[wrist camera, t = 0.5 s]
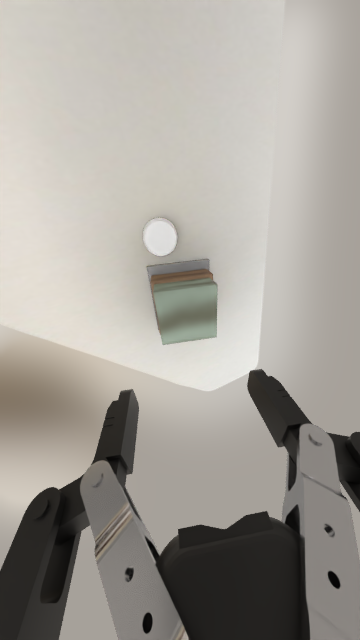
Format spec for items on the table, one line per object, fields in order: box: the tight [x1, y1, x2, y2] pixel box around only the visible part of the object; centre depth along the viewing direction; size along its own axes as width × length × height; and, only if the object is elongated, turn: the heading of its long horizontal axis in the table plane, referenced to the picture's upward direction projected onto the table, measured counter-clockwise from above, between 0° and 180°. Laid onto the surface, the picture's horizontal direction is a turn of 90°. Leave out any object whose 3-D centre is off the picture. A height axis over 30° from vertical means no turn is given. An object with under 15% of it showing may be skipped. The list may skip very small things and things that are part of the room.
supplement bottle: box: [143, 217, 178, 256], centre depth 24 cm, size 5×5×8 cm
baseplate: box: [147, 259, 209, 330], centre depth 33 cm, size 13×11×1 cm
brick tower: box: [150, 269, 217, 345], centre depth 29 cm, size 10×10×8 cm
